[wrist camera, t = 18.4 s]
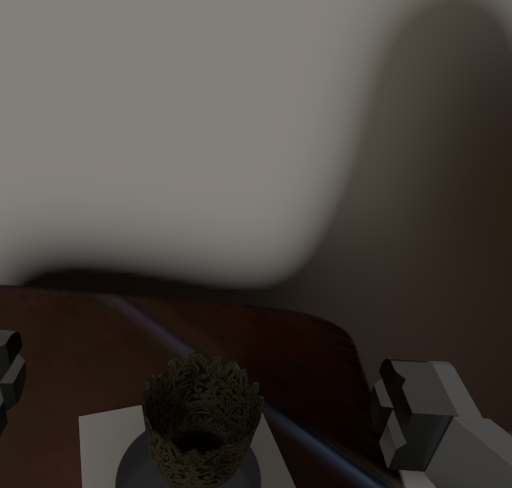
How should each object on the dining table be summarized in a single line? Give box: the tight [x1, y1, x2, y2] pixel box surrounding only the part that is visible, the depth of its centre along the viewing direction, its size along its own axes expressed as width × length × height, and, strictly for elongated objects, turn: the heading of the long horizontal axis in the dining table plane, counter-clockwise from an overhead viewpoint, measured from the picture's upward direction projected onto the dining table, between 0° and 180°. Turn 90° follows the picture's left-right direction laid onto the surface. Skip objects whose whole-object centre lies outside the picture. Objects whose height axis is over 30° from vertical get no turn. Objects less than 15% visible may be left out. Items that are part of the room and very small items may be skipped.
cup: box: [141, 352, 264, 488], centre depth 30 cm, size 8×7×8 cm
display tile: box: [79, 405, 296, 488], centre depth 33 cm, size 14×14×2 cm
